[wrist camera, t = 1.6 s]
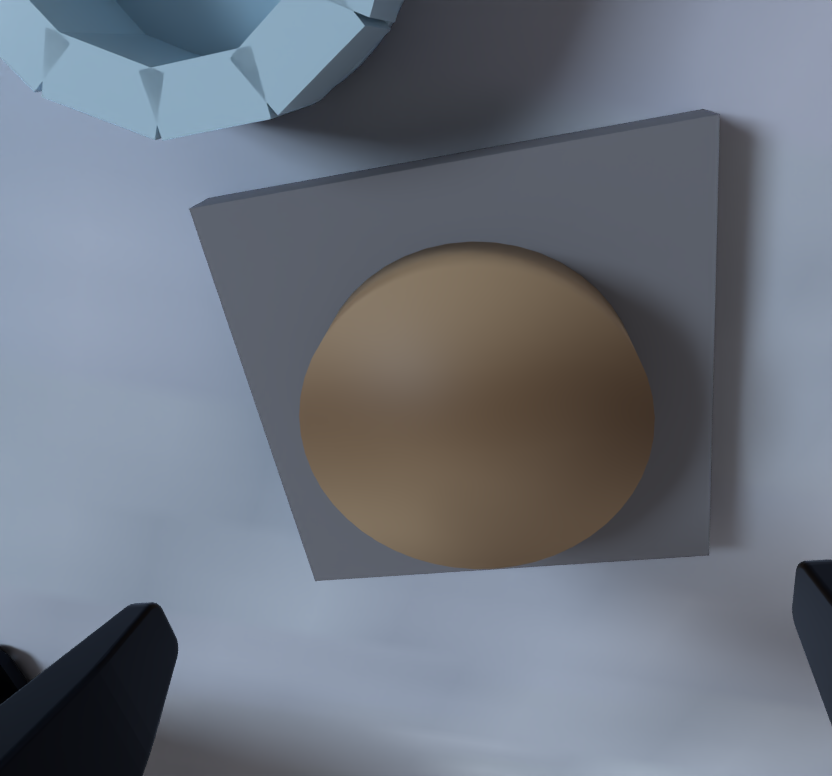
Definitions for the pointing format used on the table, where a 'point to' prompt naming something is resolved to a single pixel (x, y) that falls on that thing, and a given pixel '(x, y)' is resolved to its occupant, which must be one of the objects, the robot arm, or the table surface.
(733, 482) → the table surface
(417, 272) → the lid
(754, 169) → the table surface
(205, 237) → the mat
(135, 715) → the robot arm
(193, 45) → the bowl
